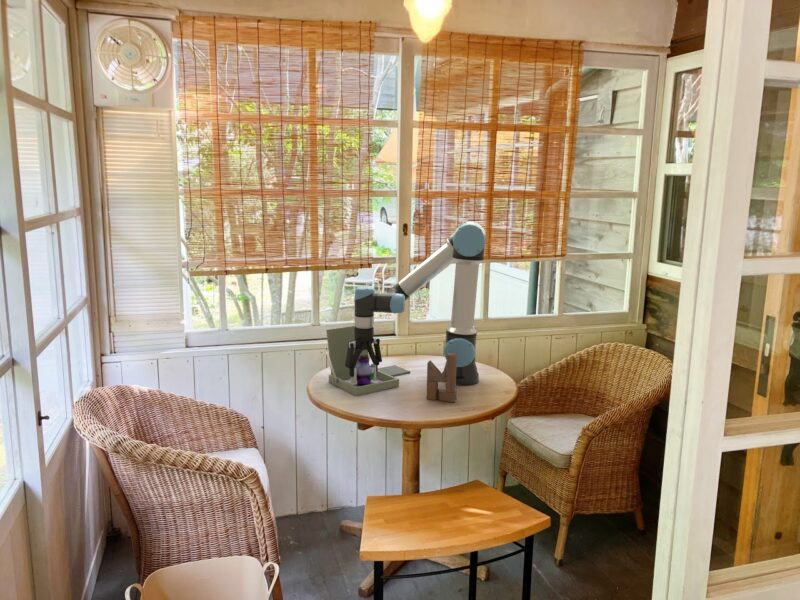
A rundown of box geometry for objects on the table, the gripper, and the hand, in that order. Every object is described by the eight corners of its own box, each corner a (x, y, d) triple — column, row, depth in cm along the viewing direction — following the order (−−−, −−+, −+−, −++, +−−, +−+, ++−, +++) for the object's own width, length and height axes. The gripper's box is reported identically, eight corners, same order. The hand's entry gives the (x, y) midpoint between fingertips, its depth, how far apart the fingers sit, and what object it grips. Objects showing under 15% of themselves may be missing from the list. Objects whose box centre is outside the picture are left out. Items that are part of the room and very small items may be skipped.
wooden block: (428, 396, 235) (430, 349, 232) (456, 400, 232) (458, 352, 229) (426, 399, 232) (427, 352, 229) (454, 403, 229) (455, 355, 225)
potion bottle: (372, 388, 243) (373, 358, 241) (350, 387, 244) (351, 357, 242) (375, 381, 252) (376, 352, 250) (354, 380, 253) (354, 351, 250)
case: (398, 386, 246) (399, 335, 242) (354, 396, 234) (354, 342, 230) (365, 371, 265) (365, 323, 261) (322, 380, 252) (322, 330, 249)
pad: (410, 373, 264) (410, 371, 264) (389, 377, 257) (389, 375, 257) (394, 366, 272) (394, 365, 272) (373, 370, 266) (373, 369, 266)
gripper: (381, 321, 253) (380, 375, 257) (335, 327, 240) (335, 384, 245) (391, 324, 247) (391, 379, 251) (345, 331, 234) (345, 389, 239)
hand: (363, 382), depth 248 cm, fingers closed on potion bottle, 9 cm apart
